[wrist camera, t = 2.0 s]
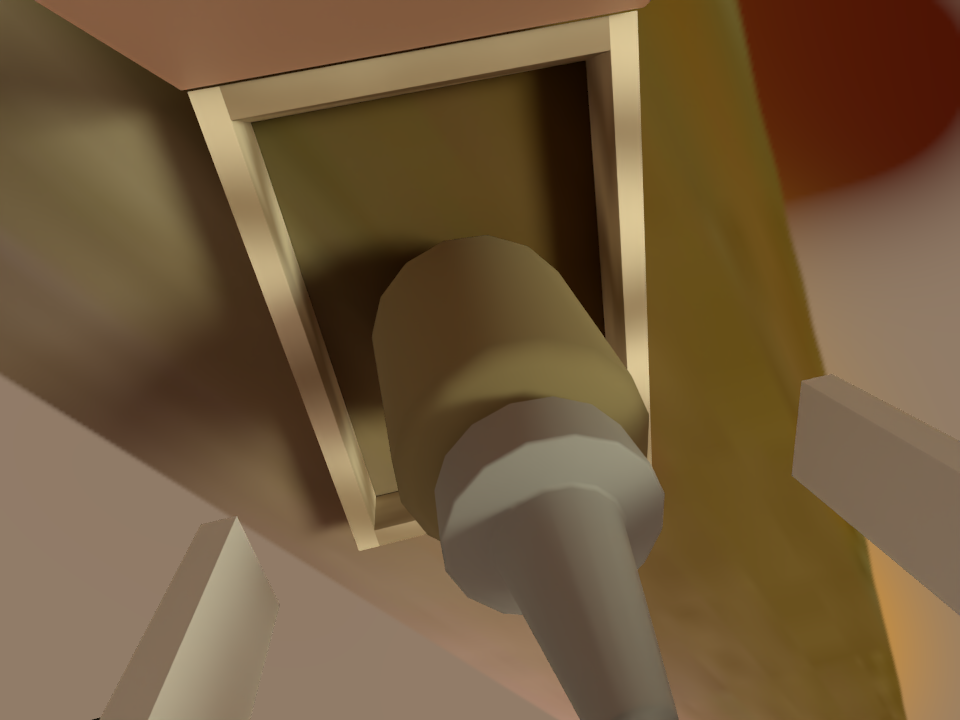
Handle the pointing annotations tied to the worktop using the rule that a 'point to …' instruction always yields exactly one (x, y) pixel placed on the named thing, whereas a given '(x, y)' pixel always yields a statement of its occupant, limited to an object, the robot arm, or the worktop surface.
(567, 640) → the squeeze bottle
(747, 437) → the worktop surface
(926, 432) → the robot arm
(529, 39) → the frame
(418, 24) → the lid
